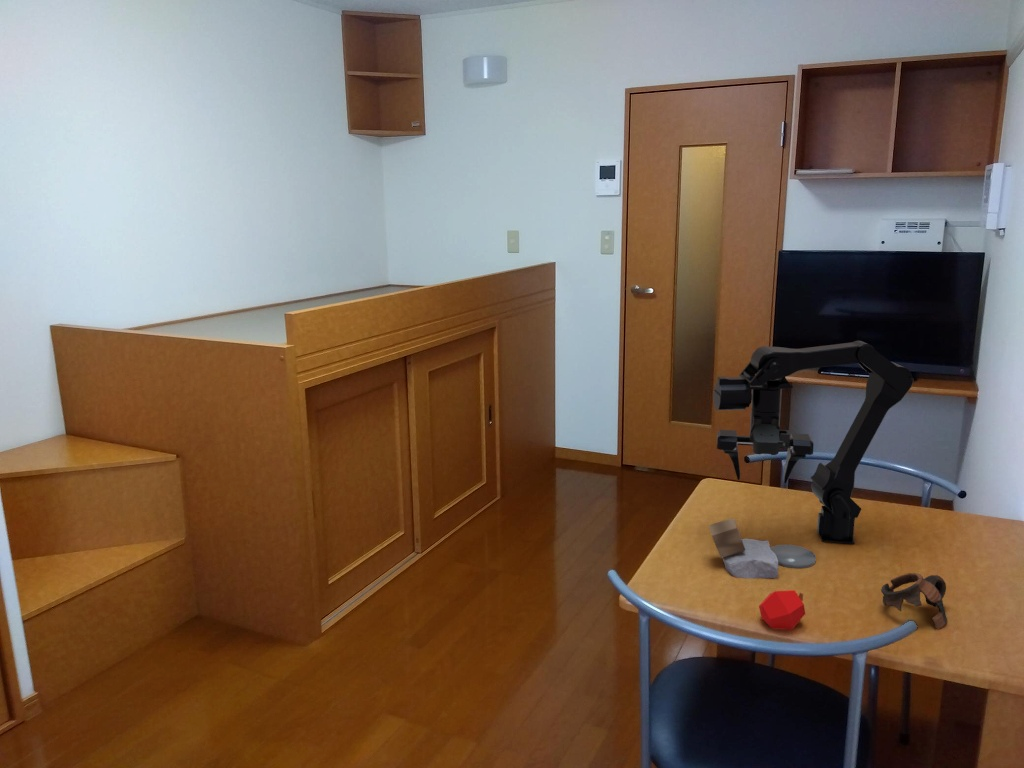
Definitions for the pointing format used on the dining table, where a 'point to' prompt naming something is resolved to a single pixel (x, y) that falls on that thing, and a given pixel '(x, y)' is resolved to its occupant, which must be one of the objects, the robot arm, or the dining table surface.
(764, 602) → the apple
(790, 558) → the slate coaster
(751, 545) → the stone block
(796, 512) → the dining table surface
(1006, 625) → the dining table surface
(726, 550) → the walnut cube
